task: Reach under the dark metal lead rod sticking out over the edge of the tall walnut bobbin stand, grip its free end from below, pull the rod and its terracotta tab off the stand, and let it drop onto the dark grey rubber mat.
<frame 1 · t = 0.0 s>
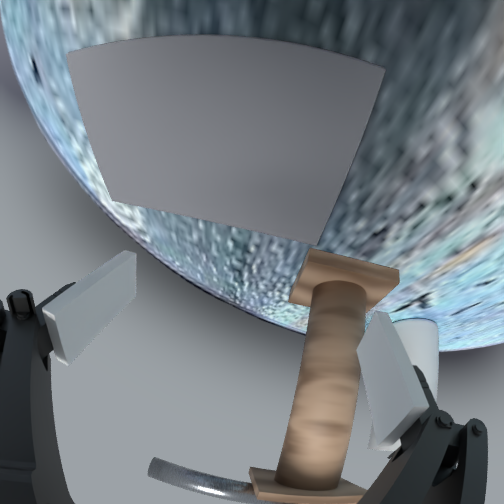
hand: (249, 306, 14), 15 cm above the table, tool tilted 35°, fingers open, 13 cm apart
cylinder vase: (410, 327, 48), on the table
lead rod: (292, 488, 23), point 30 cm above the table, touching bobbin stand
rubber mat: (199, 143, 24), on the table
bobbin stand: (340, 282, 39), on the table
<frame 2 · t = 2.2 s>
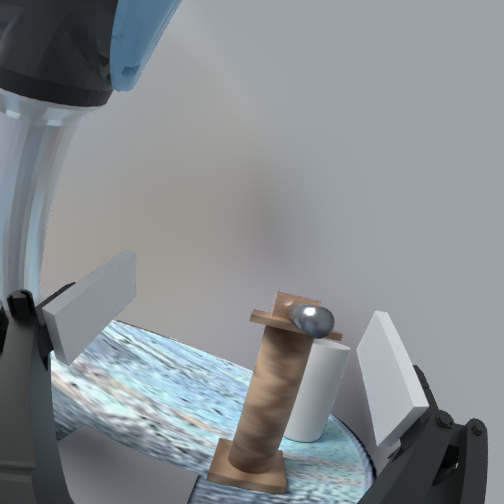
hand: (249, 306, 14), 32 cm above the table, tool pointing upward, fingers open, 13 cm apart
cylinder vase: (297, 432, 58), on the table
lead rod: (294, 321, 41), point 30 cm above the table, touching bobbin stand
rubber mat: (99, 494, 20), on the table
bobbin stand: (247, 468, 38), on the table
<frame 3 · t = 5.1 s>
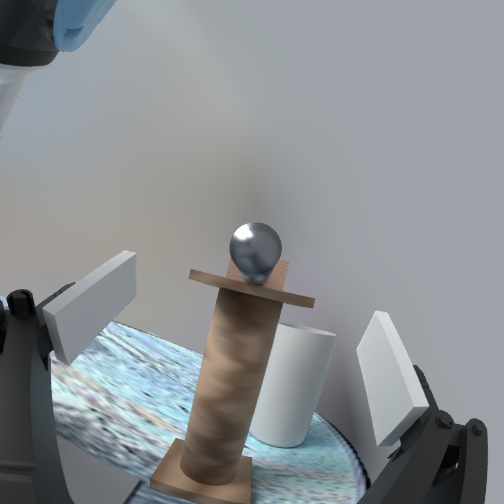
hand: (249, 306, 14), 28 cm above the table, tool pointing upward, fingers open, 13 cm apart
cylinder vase: (275, 435, 49), on the table
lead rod: (253, 286, 32), point 30 cm above the table, touching bobbin stand
rubber mat: (15, 485, 10), on the table
bobbin stand: (205, 477, 29), on the table
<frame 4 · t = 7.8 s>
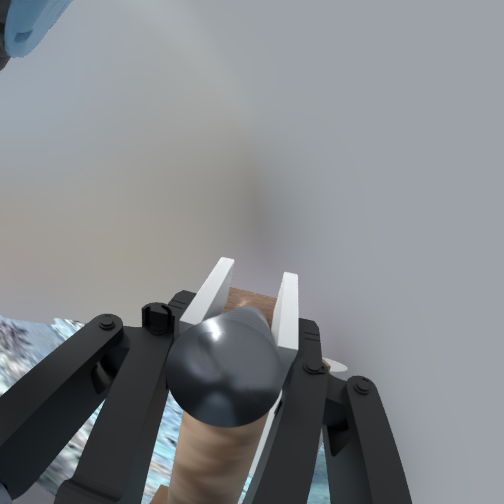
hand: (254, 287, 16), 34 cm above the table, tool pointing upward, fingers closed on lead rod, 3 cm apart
cylinder vase: (275, 472, 40), on the table
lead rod: (244, 337, 23), point 30 cm above the table, touching bobbin stand, gripper
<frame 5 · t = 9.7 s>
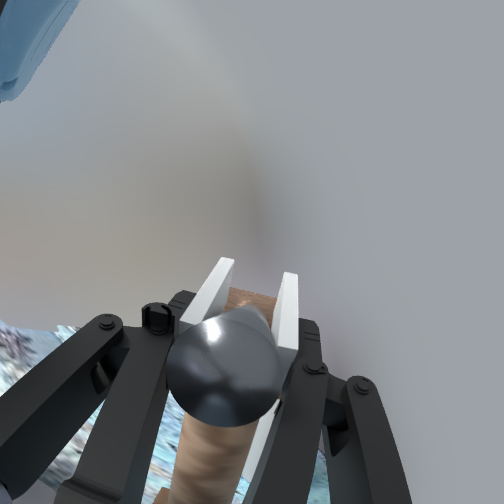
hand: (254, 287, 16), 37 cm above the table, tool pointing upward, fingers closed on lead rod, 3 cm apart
cylinder vase: (268, 476, 42), on the table
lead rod: (244, 337, 23), point 33 cm above the table, touching gripper
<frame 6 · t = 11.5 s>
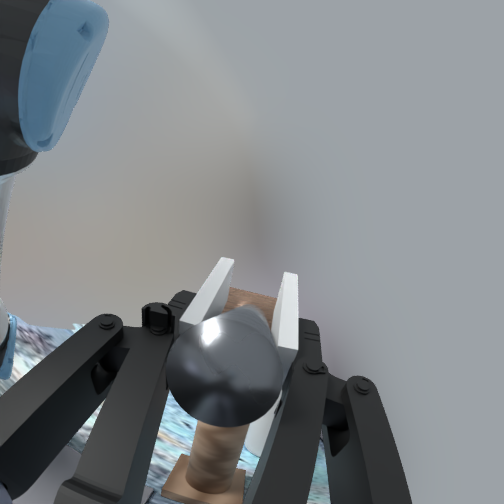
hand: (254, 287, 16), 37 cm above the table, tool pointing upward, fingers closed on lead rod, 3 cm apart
cylinder vase: (268, 449, 54), on the table
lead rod: (244, 337, 23), point 33 cm above the table, touching gripper
rubber mat: (53, 500, 16), on the table
bobbin stand: (206, 487, 34), on the table
when the fingers open (25 cm above the table, at t = 15.1 s): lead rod drops 20 cm, resting on rubber mat.
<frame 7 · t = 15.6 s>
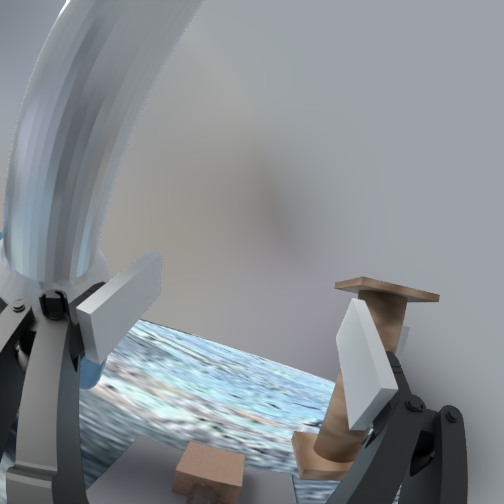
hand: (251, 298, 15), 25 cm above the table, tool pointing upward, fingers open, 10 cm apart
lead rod: (201, 503, 19), point 1 cm above the table, touching rubber mat
bobbin stand: (332, 460, 34), on the table
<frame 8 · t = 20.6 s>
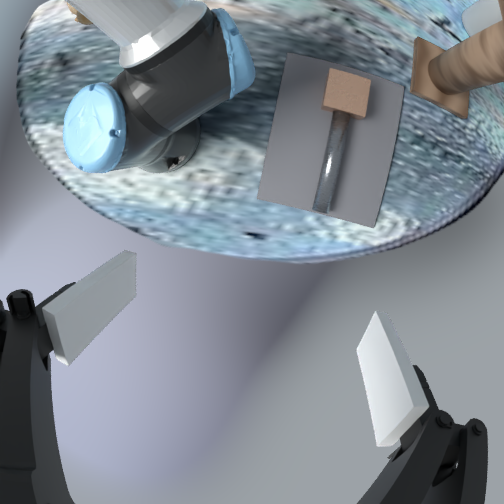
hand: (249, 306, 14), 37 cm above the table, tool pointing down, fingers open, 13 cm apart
cylinder vase: (480, 32, 26), on the table
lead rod: (339, 117, 41), point 1 cm above the table, touching rubber mat
rubber mat: (334, 137, 43), on the table
decorative spool: (99, 0, 35), on the table
bobbin stand: (440, 78, 34), on the table
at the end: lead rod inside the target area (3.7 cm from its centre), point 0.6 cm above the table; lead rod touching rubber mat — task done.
